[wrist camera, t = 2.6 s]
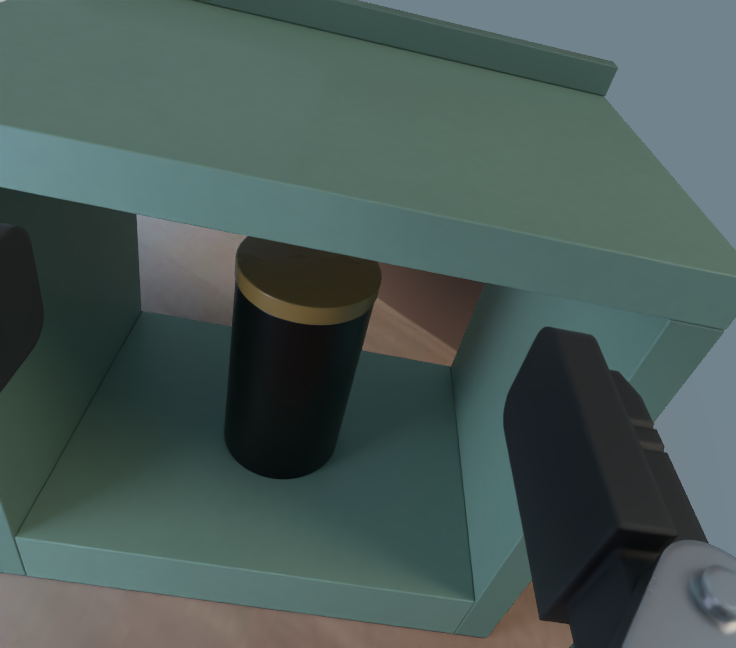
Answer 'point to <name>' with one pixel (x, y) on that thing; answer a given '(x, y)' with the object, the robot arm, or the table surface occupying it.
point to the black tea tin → (293, 353)
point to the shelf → (332, 234)
